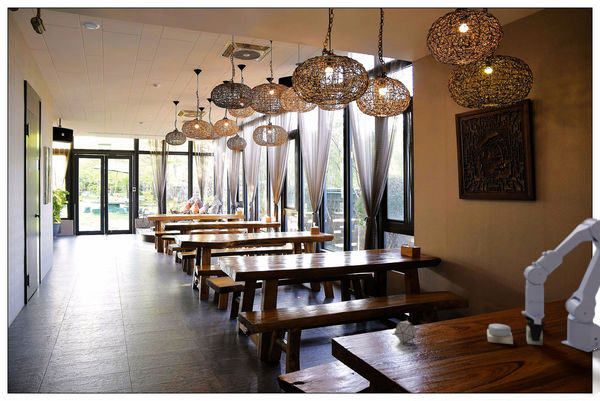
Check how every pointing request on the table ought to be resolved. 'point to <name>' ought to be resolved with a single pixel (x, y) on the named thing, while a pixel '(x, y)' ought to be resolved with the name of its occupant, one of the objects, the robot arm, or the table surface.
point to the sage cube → (529, 339)
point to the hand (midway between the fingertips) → (534, 338)
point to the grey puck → (499, 330)
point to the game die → (405, 331)
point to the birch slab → (499, 339)
